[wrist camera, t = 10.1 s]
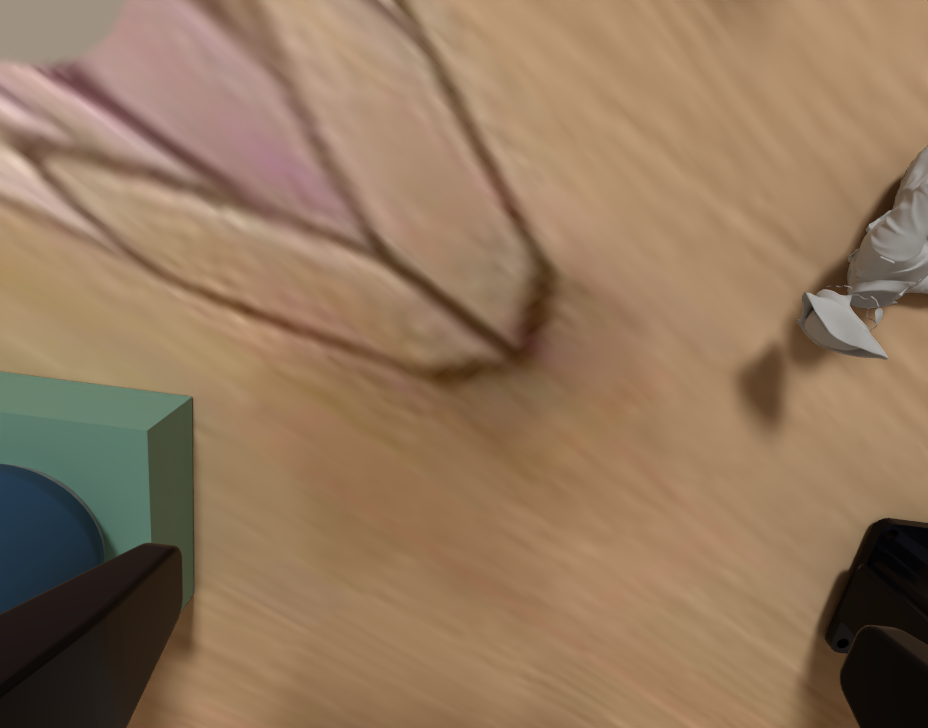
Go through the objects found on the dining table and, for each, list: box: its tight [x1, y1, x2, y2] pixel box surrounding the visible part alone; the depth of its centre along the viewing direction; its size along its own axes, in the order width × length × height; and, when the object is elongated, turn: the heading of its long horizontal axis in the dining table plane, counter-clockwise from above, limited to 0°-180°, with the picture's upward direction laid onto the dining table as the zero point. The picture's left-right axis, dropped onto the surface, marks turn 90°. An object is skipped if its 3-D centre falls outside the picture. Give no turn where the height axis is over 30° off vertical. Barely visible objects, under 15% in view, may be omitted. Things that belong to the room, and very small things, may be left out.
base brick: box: [0, 372, 194, 613], centre depth 20 cm, size 10×9×3 cm
